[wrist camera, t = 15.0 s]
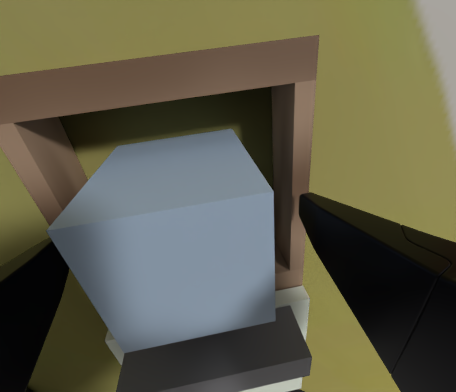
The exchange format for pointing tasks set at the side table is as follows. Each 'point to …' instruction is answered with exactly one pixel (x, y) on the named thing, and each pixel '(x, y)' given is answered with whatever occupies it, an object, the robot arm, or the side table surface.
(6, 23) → the side table surface
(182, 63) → the brown square frame
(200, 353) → the cover
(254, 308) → the slate block
